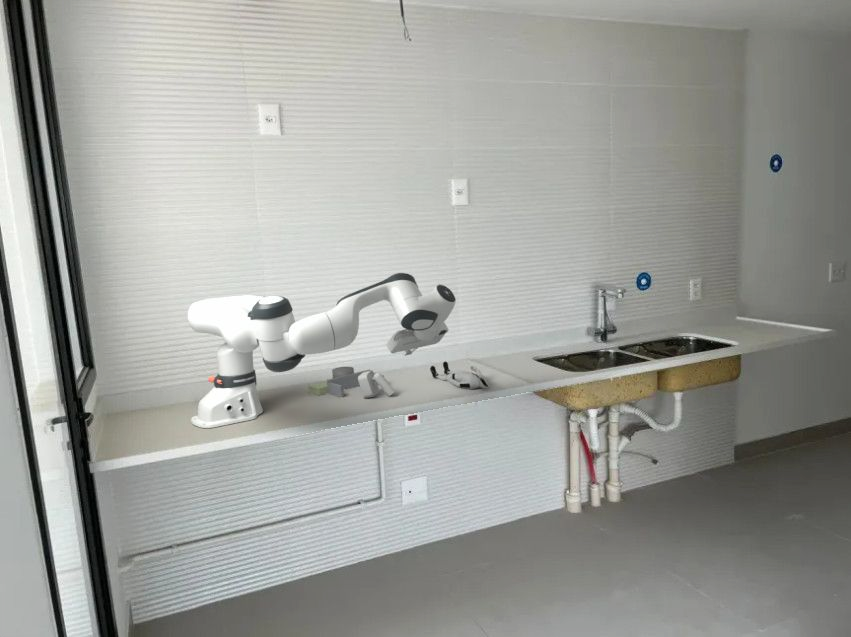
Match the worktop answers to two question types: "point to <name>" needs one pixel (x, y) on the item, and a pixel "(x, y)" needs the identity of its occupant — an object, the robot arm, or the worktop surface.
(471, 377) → the figurine
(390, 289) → the robot arm
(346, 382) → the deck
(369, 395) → the wall hook
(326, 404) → the worktop surface
